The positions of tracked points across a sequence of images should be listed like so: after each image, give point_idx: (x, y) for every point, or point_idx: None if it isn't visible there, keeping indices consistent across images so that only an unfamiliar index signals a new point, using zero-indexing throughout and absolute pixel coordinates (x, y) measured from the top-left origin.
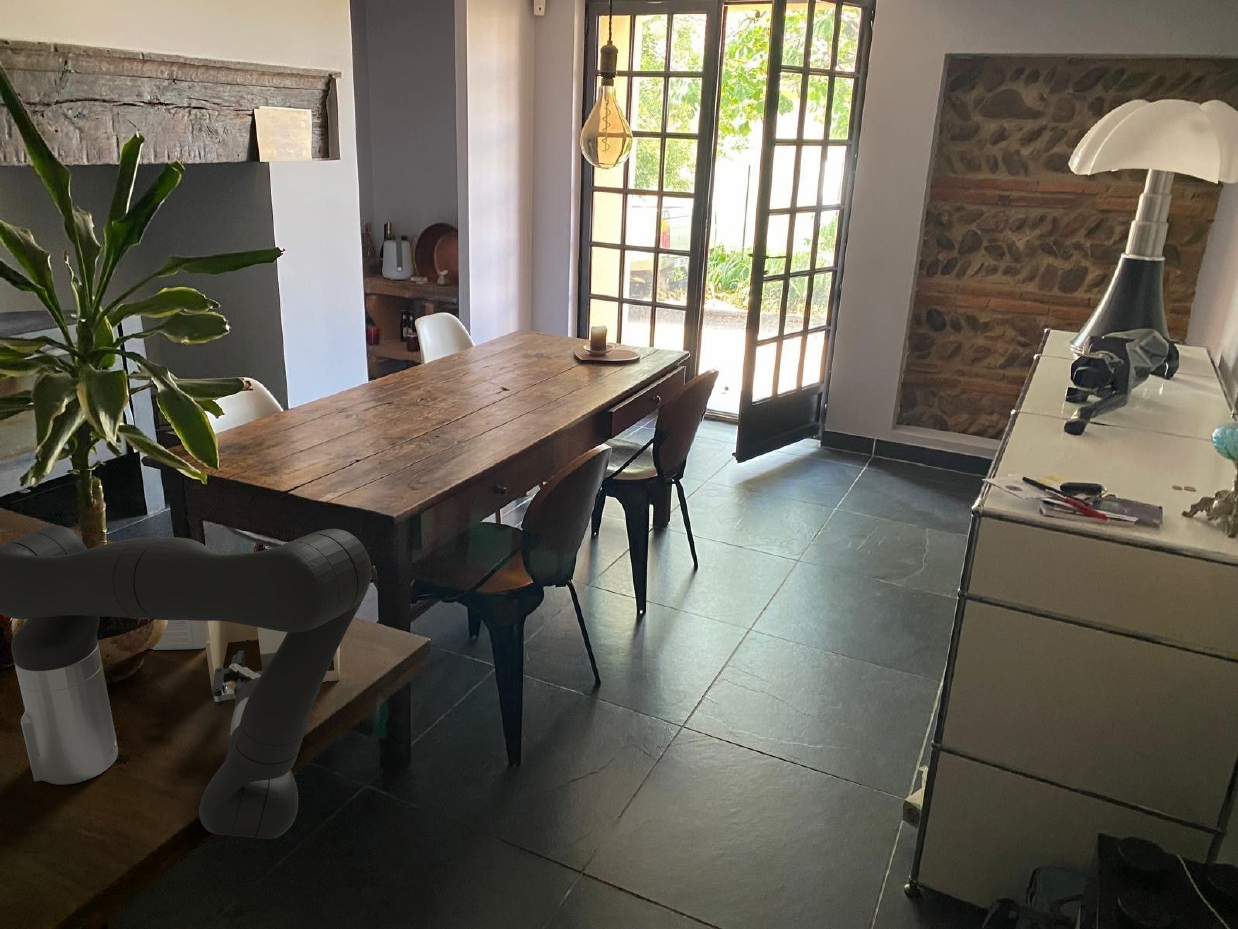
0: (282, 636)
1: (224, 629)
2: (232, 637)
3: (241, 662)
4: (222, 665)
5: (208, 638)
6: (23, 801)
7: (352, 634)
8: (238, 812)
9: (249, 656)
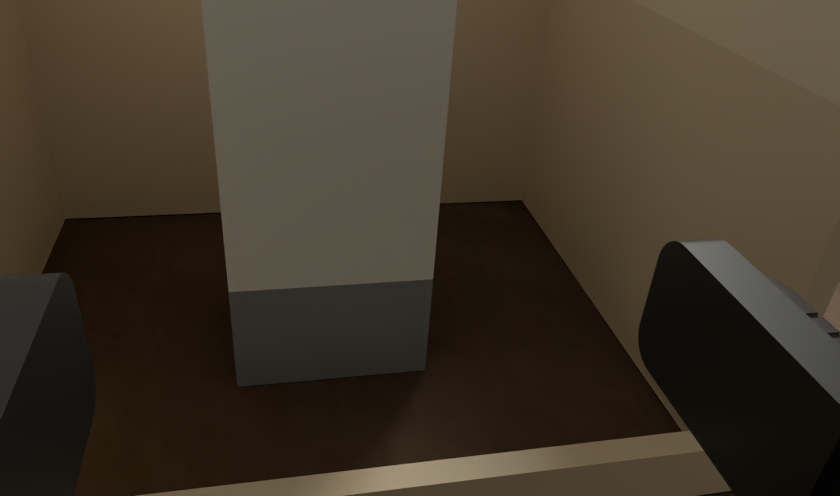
0: (376, 181)
1: (31, 145)
2: (83, 195)
3: (2, 471)
4: None
5: None
6: None
7: None
8: None
9: (162, 291)
